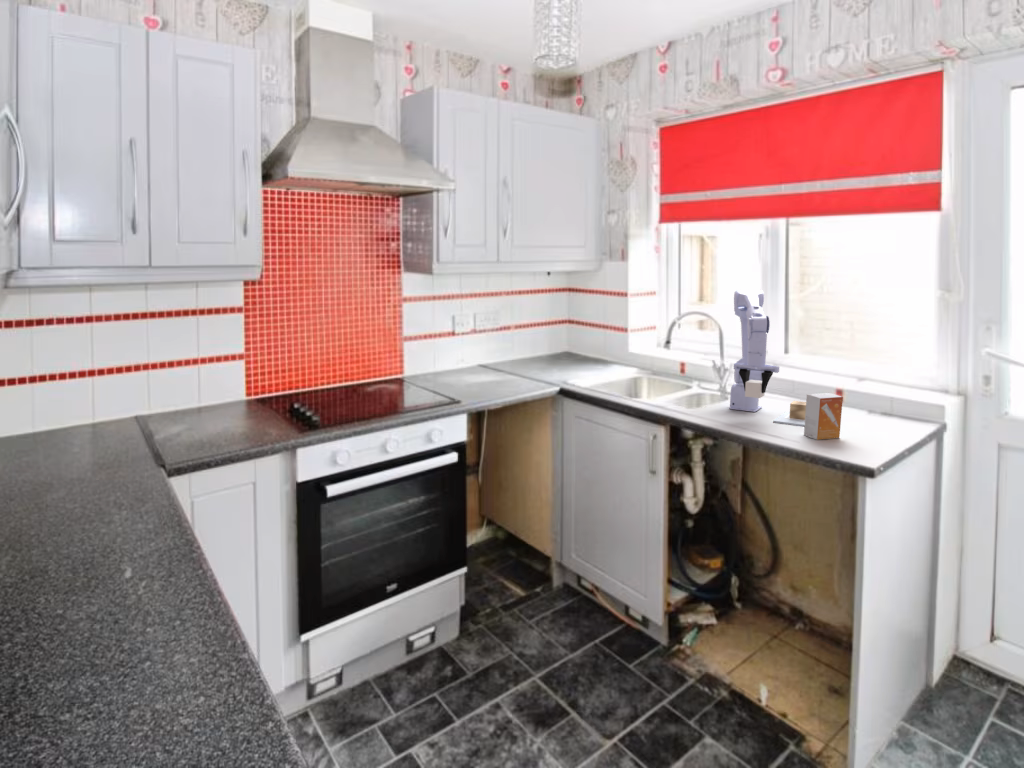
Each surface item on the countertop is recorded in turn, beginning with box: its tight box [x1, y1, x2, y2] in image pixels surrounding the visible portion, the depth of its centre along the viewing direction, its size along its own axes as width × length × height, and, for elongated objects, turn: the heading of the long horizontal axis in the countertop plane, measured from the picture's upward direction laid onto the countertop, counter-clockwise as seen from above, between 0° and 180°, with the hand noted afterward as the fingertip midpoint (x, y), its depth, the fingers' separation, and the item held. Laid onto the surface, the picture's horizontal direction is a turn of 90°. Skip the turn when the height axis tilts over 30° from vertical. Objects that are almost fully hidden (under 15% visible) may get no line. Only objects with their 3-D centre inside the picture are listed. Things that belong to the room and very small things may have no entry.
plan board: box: [773, 411, 805, 427], centre depth 221 cm, size 12×15×1 cm
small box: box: [803, 392, 844, 441], centre depth 199 cm, size 8×6×13 cm
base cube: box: [789, 400, 806, 420], centre depth 221 cm, size 5×5×5 cm
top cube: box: [745, 380, 765, 399], centre depth 222 cm, size 5×5×5 cm
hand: (754, 391), depth 222 cm, fingers closed on top cube, 5 cm apart
